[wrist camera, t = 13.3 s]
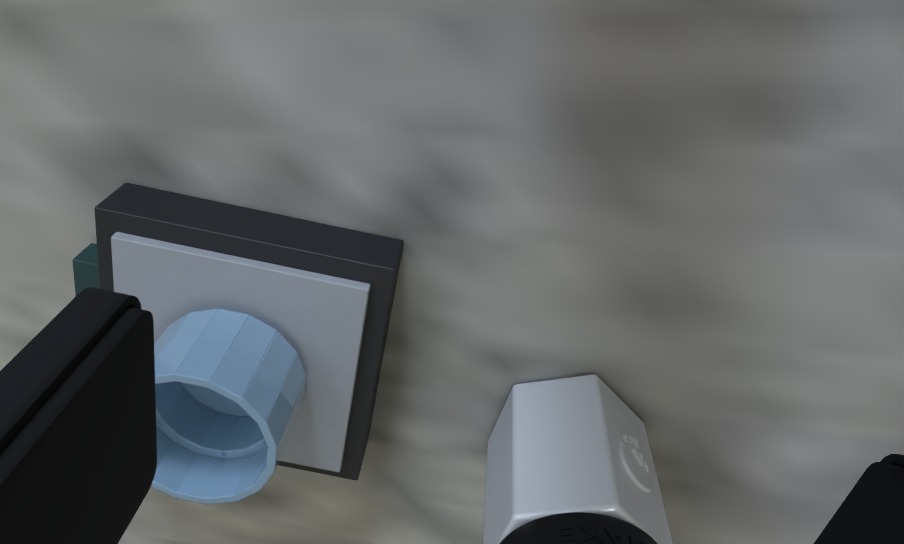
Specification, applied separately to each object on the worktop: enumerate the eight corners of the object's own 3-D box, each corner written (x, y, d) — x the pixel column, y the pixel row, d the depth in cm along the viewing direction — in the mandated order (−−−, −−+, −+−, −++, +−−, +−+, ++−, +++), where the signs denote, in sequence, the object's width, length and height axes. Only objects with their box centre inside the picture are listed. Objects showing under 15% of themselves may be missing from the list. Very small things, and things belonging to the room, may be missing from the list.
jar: (670, 442, 40) (725, 641, 30) (557, 504, 43) (572, 704, 33) (573, 343, 37) (596, 525, 27) (460, 417, 40) (441, 606, 30)
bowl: (160, 289, 33) (101, 359, 28) (314, 321, 33) (281, 395, 29) (162, 406, 37) (111, 486, 32) (301, 434, 37) (270, 517, 32)
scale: (92, 175, 35) (51, 205, 31) (403, 240, 35) (393, 276, 32) (108, 391, 41) (75, 434, 38) (367, 443, 42) (355, 489, 39)
